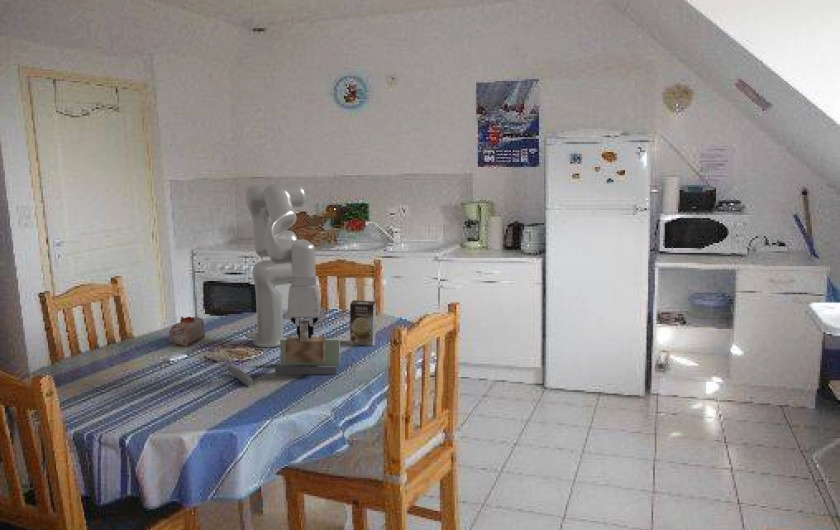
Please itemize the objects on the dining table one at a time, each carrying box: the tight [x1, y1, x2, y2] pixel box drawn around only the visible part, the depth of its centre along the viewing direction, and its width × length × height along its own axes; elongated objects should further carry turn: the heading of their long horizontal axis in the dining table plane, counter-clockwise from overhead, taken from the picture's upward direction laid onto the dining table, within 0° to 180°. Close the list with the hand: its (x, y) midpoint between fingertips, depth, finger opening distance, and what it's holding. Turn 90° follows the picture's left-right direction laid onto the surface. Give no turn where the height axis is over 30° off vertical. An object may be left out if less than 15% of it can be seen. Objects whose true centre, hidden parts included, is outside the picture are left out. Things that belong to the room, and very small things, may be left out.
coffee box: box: [349, 299, 377, 347], centre depth 251 cm, size 9×6×16 cm
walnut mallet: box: [285, 319, 326, 362], centre depth 216 cm, size 12×6×13 cm, turn 90°
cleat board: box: [274, 337, 341, 375], centre depth 222 cm, size 20×11×9 cm, turn 91°
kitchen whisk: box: [206, 346, 255, 388], centre depth 217 cm, size 6×34×6 cm, turn 38°
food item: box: [168, 316, 206, 347], centre depth 252 cm, size 14×8×10 cm, turn 166°
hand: (305, 336), depth 216 cm, fingers closed on walnut mallet, 2 cm apart
